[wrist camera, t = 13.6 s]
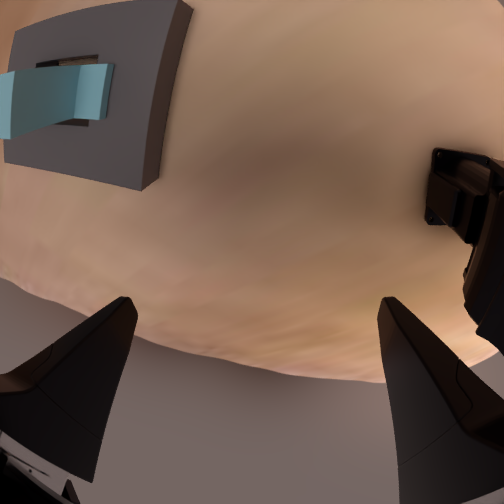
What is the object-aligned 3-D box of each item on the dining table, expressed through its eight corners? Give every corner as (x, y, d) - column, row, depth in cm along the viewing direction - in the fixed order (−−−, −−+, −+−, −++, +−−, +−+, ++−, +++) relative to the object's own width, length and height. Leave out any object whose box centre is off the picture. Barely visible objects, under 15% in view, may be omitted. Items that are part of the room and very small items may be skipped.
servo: (136, 65, 16) (31, 66, 7) (127, 113, 18) (25, 144, 9) (46, 70, 15) (-43, 89, 6) (42, 108, 17) (-44, 139, 8)
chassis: (193, 9, 13) (178, -3, 10) (158, 178, 21) (141, 191, 18) (35, 31, 12) (15, 31, 10) (23, 153, 20) (4, 162, 17)
